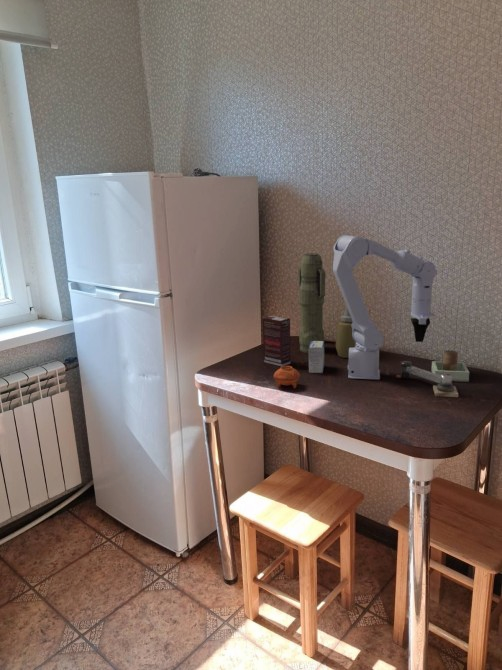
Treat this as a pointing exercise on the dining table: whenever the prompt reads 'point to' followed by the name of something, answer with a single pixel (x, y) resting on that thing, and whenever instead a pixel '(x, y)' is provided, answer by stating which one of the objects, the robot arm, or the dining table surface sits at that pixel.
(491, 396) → the dining table surface
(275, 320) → the supplement box
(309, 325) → the thermos
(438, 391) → the crank mount
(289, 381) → the pot
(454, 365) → the plug
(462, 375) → the tray
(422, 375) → the crank lever
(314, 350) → the medicine box
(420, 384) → the dining table surface
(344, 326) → the squeeze bottle
